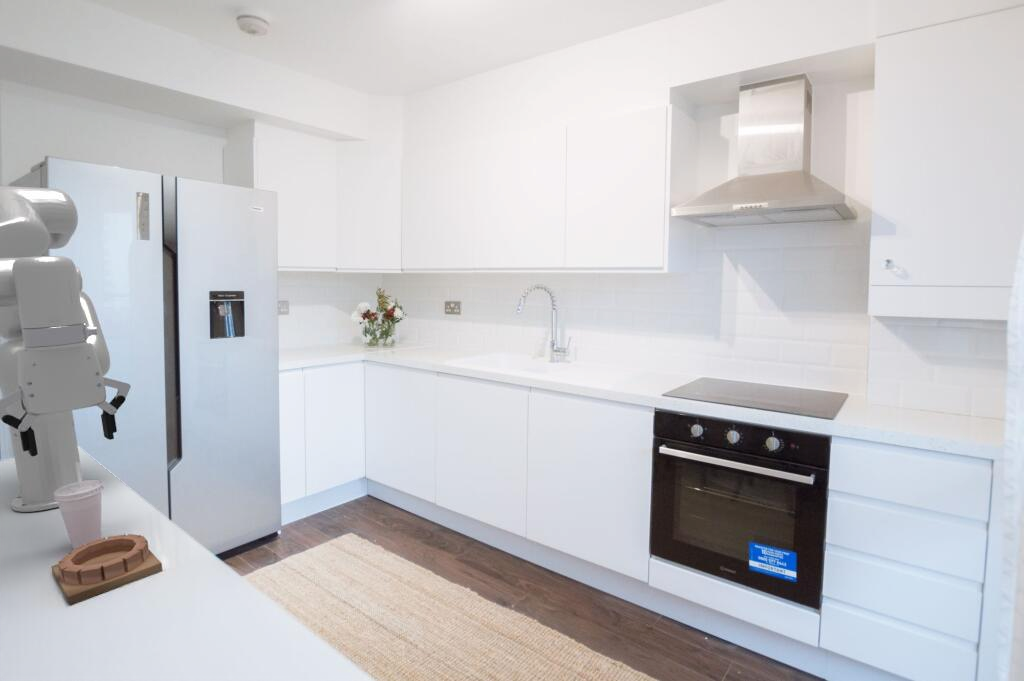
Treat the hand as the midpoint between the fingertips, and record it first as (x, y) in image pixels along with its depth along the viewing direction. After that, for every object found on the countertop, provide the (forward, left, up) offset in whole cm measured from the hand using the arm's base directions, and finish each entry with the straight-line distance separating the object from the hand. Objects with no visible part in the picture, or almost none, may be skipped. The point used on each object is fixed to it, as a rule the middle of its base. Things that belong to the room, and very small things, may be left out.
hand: (72, 445), depth 90 cm
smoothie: (-1, 0, -17) cm, 17 cm away
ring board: (+12, 0, -17) cm, 21 cm away
